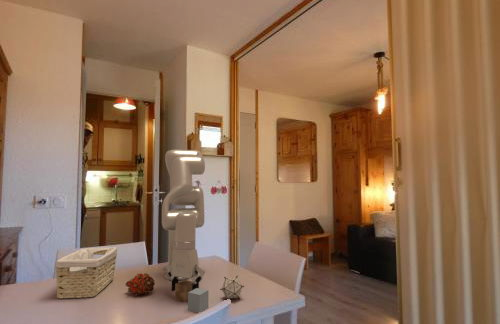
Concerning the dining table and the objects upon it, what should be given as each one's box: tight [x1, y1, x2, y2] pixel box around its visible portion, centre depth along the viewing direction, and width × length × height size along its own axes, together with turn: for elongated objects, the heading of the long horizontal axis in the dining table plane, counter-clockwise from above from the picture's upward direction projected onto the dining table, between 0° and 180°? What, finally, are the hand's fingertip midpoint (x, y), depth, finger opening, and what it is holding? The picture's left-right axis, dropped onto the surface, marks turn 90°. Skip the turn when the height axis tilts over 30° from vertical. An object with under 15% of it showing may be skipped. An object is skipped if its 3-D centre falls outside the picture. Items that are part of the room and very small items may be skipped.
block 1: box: [174, 279, 193, 303], centre depth 110 cm, size 5×5×6 cm
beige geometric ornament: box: [219, 275, 245, 300], centre depth 110 cm, size 9×8×10 cm
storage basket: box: [55, 246, 118, 299], centre depth 122 cm, size 24×16×15 cm
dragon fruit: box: [125, 272, 156, 297], centre depth 116 cm, size 8×8×12 cm
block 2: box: [187, 287, 209, 314], centre depth 101 cm, size 5×5×6 cm
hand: (184, 292), depth 110 cm, fingers open, 9 cm apart
